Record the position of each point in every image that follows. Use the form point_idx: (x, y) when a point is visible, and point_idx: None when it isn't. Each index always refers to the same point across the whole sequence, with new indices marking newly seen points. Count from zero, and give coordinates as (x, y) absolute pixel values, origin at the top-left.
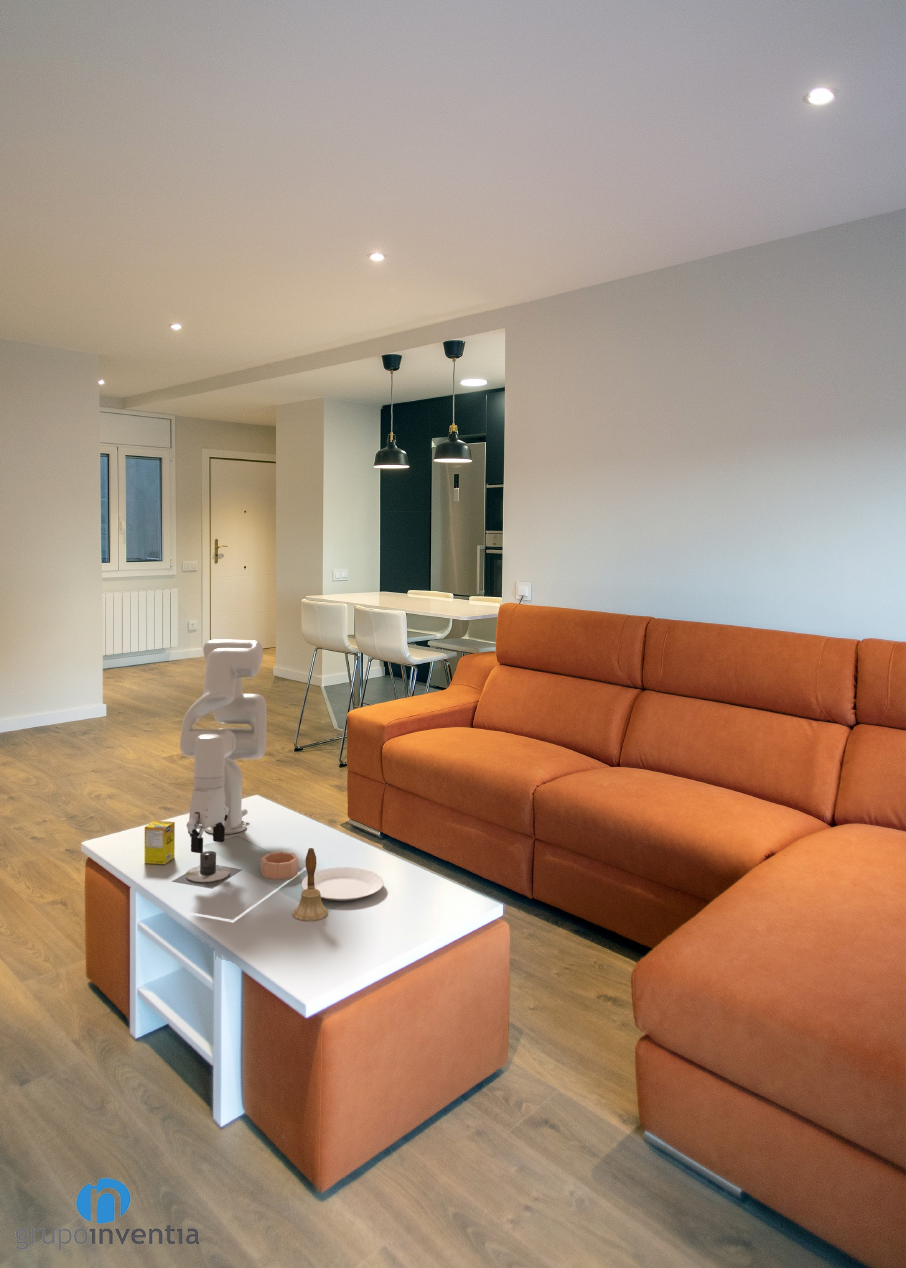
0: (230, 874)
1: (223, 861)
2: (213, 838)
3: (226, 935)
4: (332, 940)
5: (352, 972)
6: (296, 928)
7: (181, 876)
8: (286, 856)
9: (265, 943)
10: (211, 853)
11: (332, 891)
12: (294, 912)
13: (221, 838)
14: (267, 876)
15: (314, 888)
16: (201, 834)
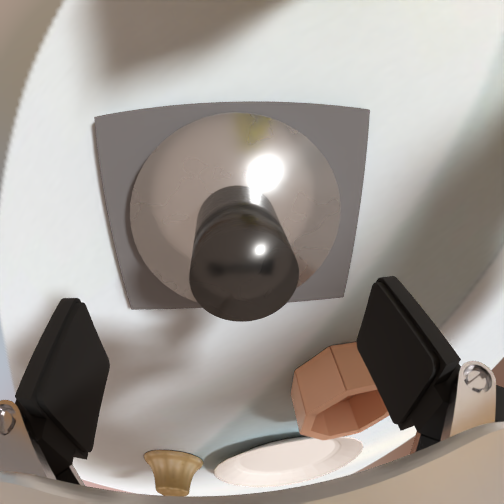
0: None
1: (421, 169)
2: (382, 294)
3: None
4: (128, 475)
5: (94, 481)
6: (120, 457)
7: (164, 112)
8: None
9: None
10: (256, 295)
11: (273, 454)
12: (151, 456)
13: (368, 356)
14: (295, 384)
15: None
16: (69, 477)
